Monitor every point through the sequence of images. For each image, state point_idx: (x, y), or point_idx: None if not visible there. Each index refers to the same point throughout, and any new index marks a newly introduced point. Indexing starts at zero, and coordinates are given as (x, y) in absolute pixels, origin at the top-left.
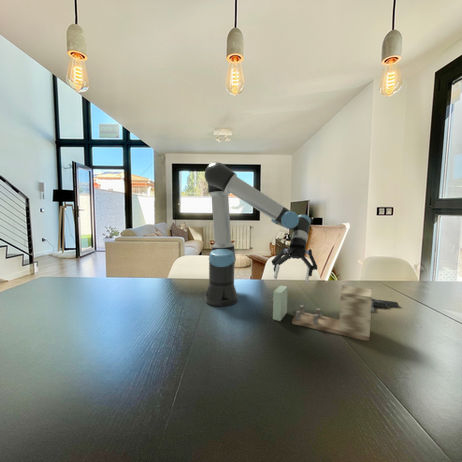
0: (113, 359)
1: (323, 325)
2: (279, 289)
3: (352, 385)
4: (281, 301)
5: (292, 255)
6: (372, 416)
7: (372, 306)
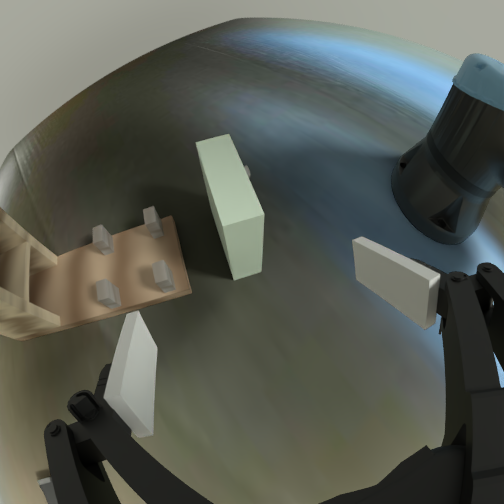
0: (298, 39)
1: (89, 251)
2: (226, 164)
3: (53, 150)
4: (203, 175)
5: (419, 458)
6: (45, 135)
7: (45, 496)
